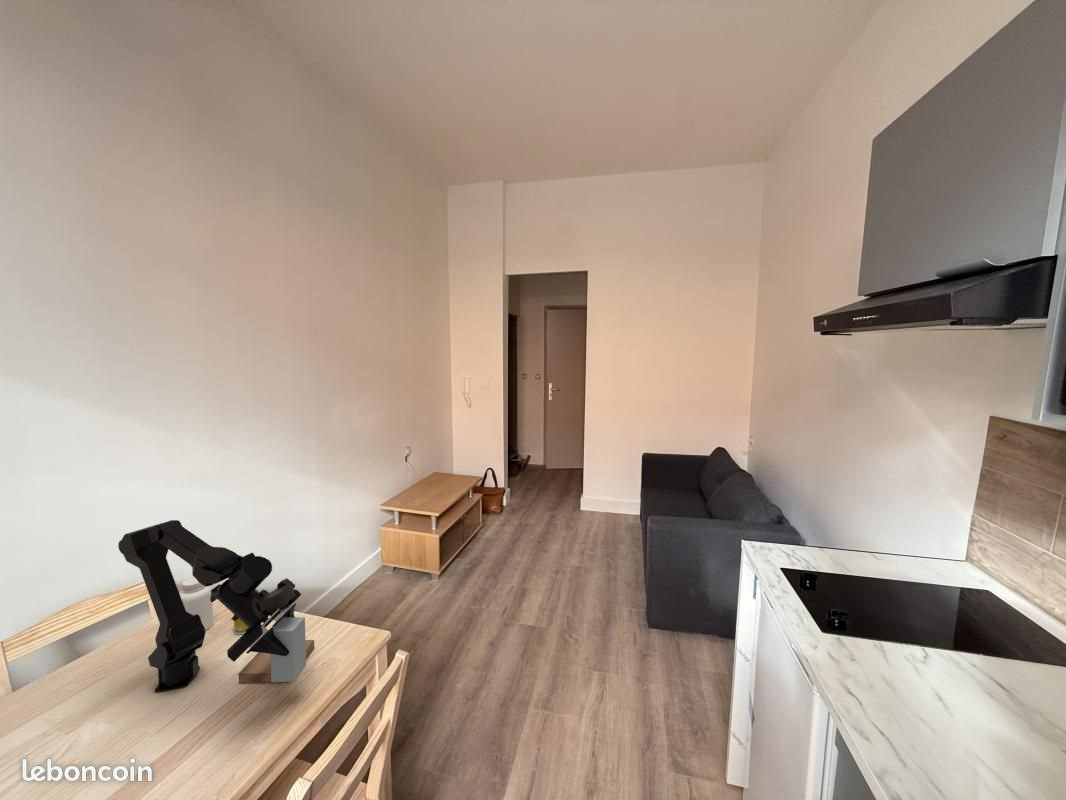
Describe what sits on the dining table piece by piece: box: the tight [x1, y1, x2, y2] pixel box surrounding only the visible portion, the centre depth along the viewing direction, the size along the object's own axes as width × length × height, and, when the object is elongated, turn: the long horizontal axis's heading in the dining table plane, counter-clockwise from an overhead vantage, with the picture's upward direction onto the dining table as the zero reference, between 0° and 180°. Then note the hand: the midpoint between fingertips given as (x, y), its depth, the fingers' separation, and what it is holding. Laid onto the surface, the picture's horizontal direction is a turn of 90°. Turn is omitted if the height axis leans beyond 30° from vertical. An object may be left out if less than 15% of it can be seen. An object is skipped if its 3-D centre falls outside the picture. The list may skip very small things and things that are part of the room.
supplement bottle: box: [233, 618, 248, 635], centre depth 116 cm, size 5×5×10 cm
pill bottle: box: [179, 576, 214, 631], centre depth 115 cm, size 8×8×15 cm
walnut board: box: [238, 639, 315, 684], centre depth 102 cm, size 12×12×2 cm
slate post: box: [271, 616, 307, 683], centre depth 90 cm, size 5×5×12 cm
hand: (294, 646), depth 90 cm, fingers closed on slate post, 5 cm apart
